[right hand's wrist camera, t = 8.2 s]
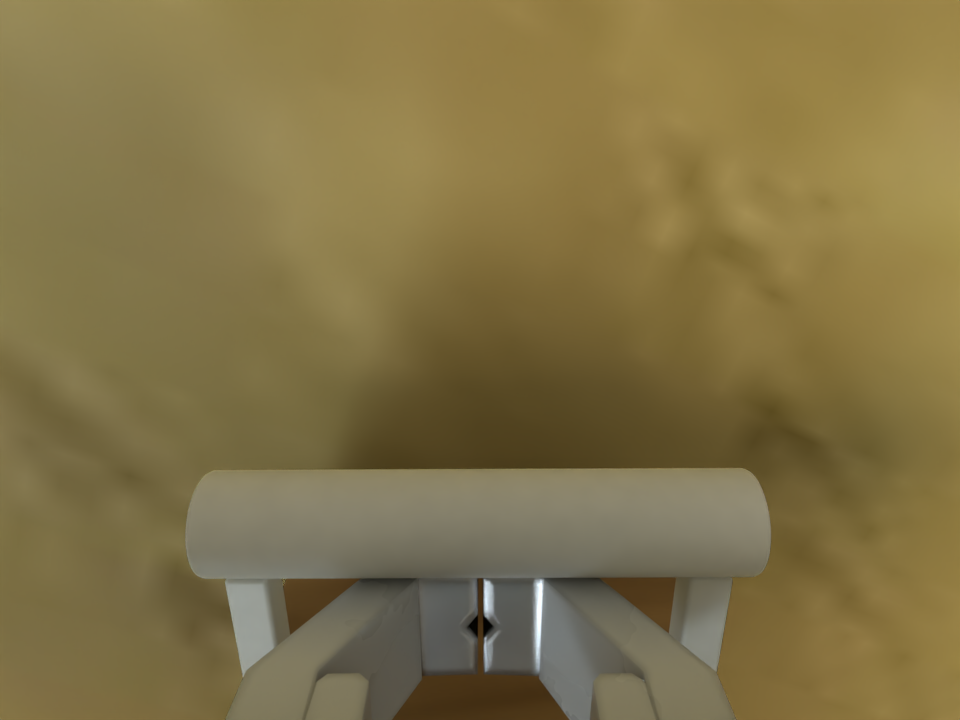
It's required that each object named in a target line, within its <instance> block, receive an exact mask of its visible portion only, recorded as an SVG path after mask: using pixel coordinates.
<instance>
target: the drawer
mask: <svg viewBox="0 0 960 720" xmlns="http://www.w3.org/2000/svg"><path fill="white" fill-rule="evenodd" d="M185 543H186V552H187V558H188V562H189V564H190V567H191V569H192V571H193V572H194V573H195V574H196V575H197V576H199V577H201V578H203V579H226V580H225V585H226V590H227V596H228V601H229V606H230V611H231V617H232V622H233V627H234V632H235V638H236V643H237V648H238V654H239V659H240V664H241V669H242V675H243V677H244V674H245V672H246V670H247V669H249V668H250V667H251V666H252V665H254V664H255V663H256V662H257V661H259V660H260V659H261V658H262V657H264V656H265V655H266V654H267V653H269V652H270V651H271V650H272V649H274V648H275V647H276V646H277V645H279V644H280V643H281V642H282V641H283V640H285V639H286V638H287V637H288V636H290V635H291V634H292V633H293V632H295V631H296V630H297V629H298V628H300V627H301V626H302V625H303V624H305V623H306V622H307V621H308V620H310V619H311V618H312V617H313V616H315V615H316V614H317V613H318V612H320V611H321V610H322V609H323V608H325V607H326V606H327V605H328V604H330V603H331V602H332V601H333V600H335V599H336V598H337V597H338V596H340V595H341V594H342V593H343V592H345V591H346V590H347V589H348V588H350V587H351V586H352V585H353V584H355V583H356V582H357V581H358V580H359V579H361V578H478V674H472V675H437V676H422V680H421V681H420V683H419V684H418V685H417V687H416V688H415V689H414V691H413V692H412V693H411V695H410V696H409V698H408V699H407V700H406V702H405V703H404V704H403V706H402V707H401V708H400V710H399V711H398V712H397V714H396V715H395V716H394V718H393V719H392V720H569V718H568V717H567V716H566V714H565V713H564V712H563V710H562V709H561V708H560V706H559V705H558V704H557V702H556V701H555V700H554V698H553V697H552V695H551V694H550V693H549V691H548V690H547V689H546V687H545V686H544V685H543V683H542V682H541V681H540V679H539V676H523V675H488V674H484V668H483V578H600V579H602V580H603V581H604V582H605V583H607V584H608V585H609V586H610V587H612V588H613V589H614V590H615V591H617V592H618V593H619V594H620V595H622V596H623V597H624V598H625V599H627V600H628V601H629V602H630V603H632V604H633V605H634V606H635V607H636V608H638V609H639V610H640V611H641V612H643V613H644V614H645V615H646V616H648V617H649V618H650V619H651V620H653V621H654V622H655V623H656V624H658V625H659V626H660V627H661V628H663V629H664V630H665V631H666V632H668V633H669V634H670V635H671V636H673V637H674V638H675V639H676V640H677V641H679V642H680V643H681V644H682V645H684V646H685V647H686V648H687V649H689V650H690V651H691V652H692V653H694V654H695V655H696V656H697V657H699V658H700V659H701V660H702V661H704V662H705V663H706V664H707V665H709V666H710V667H711V668H712V669H714V670H715V671H716V673H717V669H718V663H719V657H720V651H721V645H722V640H723V634H724V628H725V622H726V616H727V611H728V605H729V599H730V593H731V587H732V577H755V576H757V575H759V574H760V573H762V572H763V570H764V569H765V567H766V565H767V562H768V559H769V555H770V548H771V524H770V516H769V510H768V505H767V502H766V498H765V495H764V492H763V490H762V487H761V485H760V483H759V481H758V480H757V478H756V477H755V476H754V475H753V474H752V473H751V472H750V471H748V470H746V469H744V468H586V469H339V470H214V471H211V472H209V473H207V474H205V475H204V476H203V477H202V478H201V480H200V481H199V483H198V484H197V486H196V488H195V490H194V493H193V495H192V498H191V501H190V505H189V509H188V514H187V520H186V532H185ZM282 579H286V581H285V583H284V586H283V583H282Z"/></svg>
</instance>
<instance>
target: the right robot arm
mask: <svg viewBox="0 0 960 720" xmlns="http://www.w3.org/2000/svg"><path fill="white" fill-rule="evenodd" d="M483 668H484V674H488V675H523V676H539V679H540V681H541V682H542V683H543V685H544V686H545V687H546V689H547V690H548V691H549V693H550V694H551V695H552V697H553V698H554V700H555V701H556V702H557V704H558V705H559V706H560V708H561V709H562V710H563V712H564V713H565V714H566V716H567V717H568V718H569V720H736V717H735V715H734V713H733V710H732V708H731V706H730V703H729V701H728V699H727V696H726V694H725V691H724V689H723V687H722V684H721V682H720V680H719V677H718V675H717V673H716V671H715V670H714V669H712V668H711V667H710V666H709V665H707V664H706V663H705V662H704V661H702V660H701V659H700V658H699V657H697V656H696V655H695V654H694V653H692V652H691V651H690V650H689V649H687V648H686V647H685V646H684V645H682V644H681V643H680V642H679V641H677V640H676V639H675V638H674V637H673V636H671V635H670V634H669V633H668V632H666V631H665V630H664V629H663V628H661V627H660V626H659V625H658V624H656V623H655V622H654V621H653V620H651V619H650V618H649V617H648V616H646V615H645V614H644V613H643V612H641V611H640V610H639V609H638V608H636V607H635V606H634V605H633V604H632V603H630V602H629V601H628V600H627V599H625V598H624V597H623V596H622V595H620V594H619V593H618V592H617V591H615V590H614V589H613V588H612V587H610V586H609V585H608V584H607V583H605V582H604V581H603V580H602V579H600V578H483ZM472 674H478V578H361V579H359V580H358V581H357V582H356V583H355V584H353V585H352V586H351V587H350V588H348V589H347V590H346V591H345V592H343V593H342V594H341V595H340V596H338V597H337V598H336V599H335V600H333V601H332V602H331V603H330V604H328V605H327V606H326V607H325V608H323V609H322V610H321V611H320V612H318V613H317V614H316V615H315V616H313V617H312V618H311V619H310V620H308V621H307V622H306V623H305V624H303V625H302V626H301V627H300V628H298V629H297V630H296V631H295V632H293V633H292V634H291V635H290V636H288V637H287V638H286V639H285V640H283V641H282V642H281V643H280V644H279V645H277V646H276V647H275V648H274V649H272V650H271V651H270V652H269V653H267V654H266V655H265V656H264V657H262V658H261V659H260V660H259V661H257V662H256V663H255V664H254V665H252V666H251V667H250V668H249V669H247V670H246V672H245V674H244V677H243V679H242V681H241V684H240V686H239V688H238V691H237V693H236V695H235V698H234V700H233V702H232V705H231V707H230V709H229V712H228V714H227V716H226V719H225V720H392V719H393V718H394V716H395V715H396V714H397V712H398V711H399V710H400V708H401V707H402V706H403V704H404V703H405V702H406V700H407V699H408V698H409V696H410V695H411V693H412V692H413V691H414V689H415V688H416V687H417V685H418V684H419V683H420V681H421V680H422V676H437V675H472Z"/></svg>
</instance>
